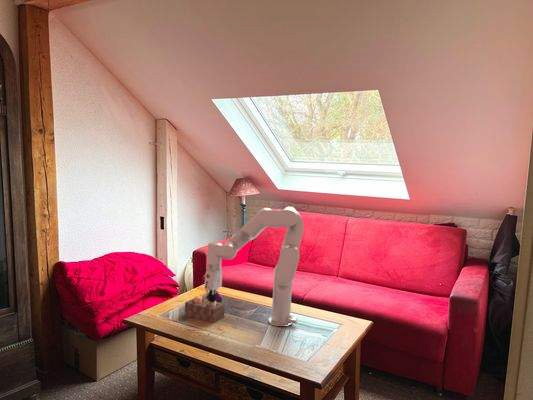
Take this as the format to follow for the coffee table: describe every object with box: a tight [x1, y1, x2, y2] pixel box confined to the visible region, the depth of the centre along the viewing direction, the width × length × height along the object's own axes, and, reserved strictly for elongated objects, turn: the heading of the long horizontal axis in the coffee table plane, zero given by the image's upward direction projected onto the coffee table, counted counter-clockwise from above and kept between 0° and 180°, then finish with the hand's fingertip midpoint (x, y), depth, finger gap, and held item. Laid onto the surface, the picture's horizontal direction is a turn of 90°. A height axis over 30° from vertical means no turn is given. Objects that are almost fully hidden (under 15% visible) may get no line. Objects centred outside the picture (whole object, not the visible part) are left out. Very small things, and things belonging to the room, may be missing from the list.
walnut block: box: [184, 298, 226, 324], centre depth 211 cm, size 18×10×7 cm, turn 64°
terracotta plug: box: [193, 295, 203, 304], centre depth 212 cm, size 4×4×7 cm
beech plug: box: [208, 300, 216, 307], centre depth 208 cm, size 4×4×7 cm
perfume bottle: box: [205, 291, 223, 303], centre depth 229 cm, size 8×8×18 cm
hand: (211, 301), depth 208 cm, fingers closed
